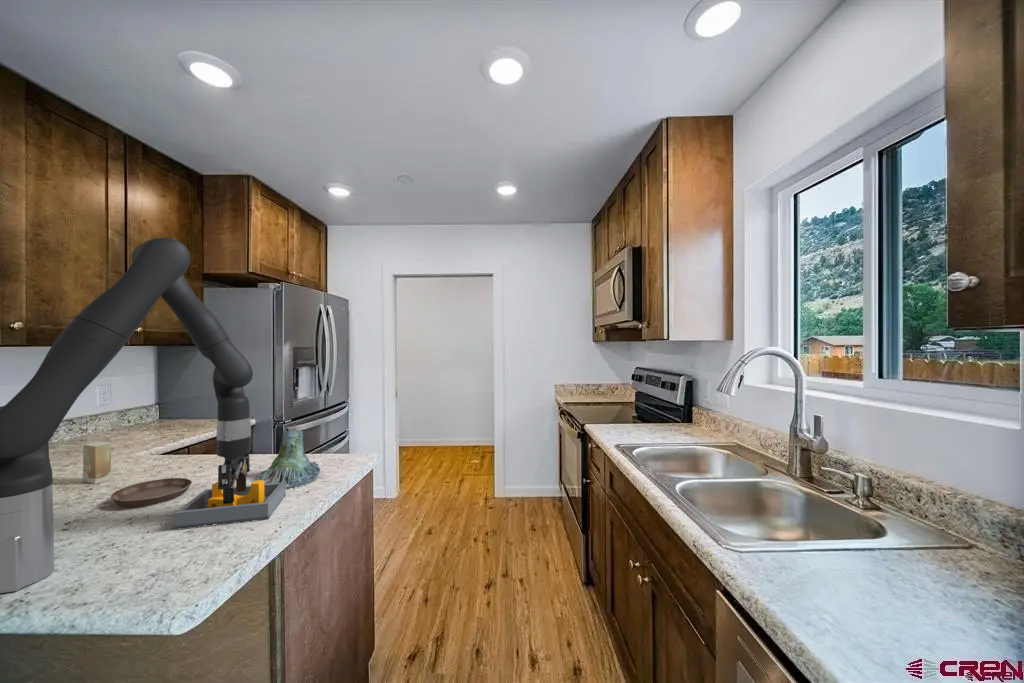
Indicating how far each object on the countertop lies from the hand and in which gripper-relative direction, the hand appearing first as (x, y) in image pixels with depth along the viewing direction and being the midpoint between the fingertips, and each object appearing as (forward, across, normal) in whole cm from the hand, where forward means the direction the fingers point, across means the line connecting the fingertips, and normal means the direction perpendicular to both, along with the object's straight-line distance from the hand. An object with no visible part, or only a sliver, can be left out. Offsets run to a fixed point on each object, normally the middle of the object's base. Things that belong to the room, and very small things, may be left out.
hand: (235, 496), depth 108 cm
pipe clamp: (+3, 0, 0) cm, 3 cm away
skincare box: (+4, -40, -53) cm, 67 cm away
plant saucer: (+4, -18, -27) cm, 33 cm away
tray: (+4, 0, 0) cm, 4 cm away
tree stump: (+4, -24, +7) cm, 25 cm away
